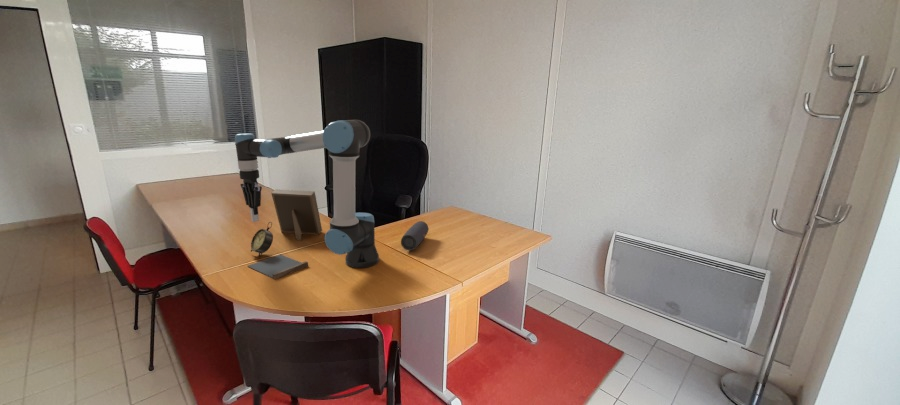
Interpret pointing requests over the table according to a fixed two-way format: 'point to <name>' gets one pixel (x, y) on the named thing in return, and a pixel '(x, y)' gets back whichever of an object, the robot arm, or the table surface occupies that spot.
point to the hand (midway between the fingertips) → (255, 221)
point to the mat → (273, 265)
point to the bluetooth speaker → (414, 235)
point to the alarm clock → (262, 240)
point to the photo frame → (297, 212)
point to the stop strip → (290, 270)
